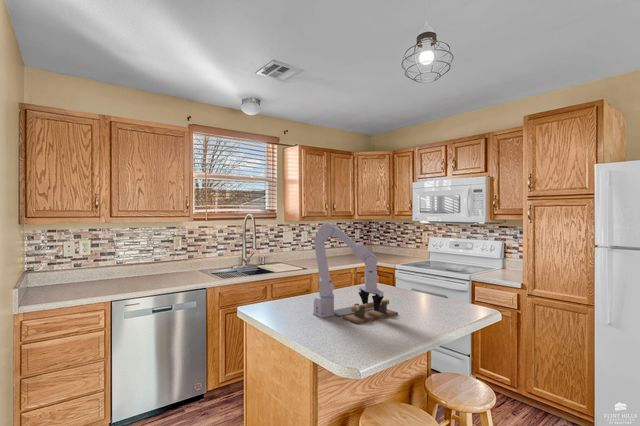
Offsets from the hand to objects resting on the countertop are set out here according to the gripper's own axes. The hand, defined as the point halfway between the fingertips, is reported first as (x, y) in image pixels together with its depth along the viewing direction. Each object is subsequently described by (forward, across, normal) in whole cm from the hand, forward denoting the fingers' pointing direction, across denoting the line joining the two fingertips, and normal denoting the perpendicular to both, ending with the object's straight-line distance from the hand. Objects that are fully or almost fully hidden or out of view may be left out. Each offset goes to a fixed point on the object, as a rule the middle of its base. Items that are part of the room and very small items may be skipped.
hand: (370, 308), depth 161 cm
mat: (+4, +12, 0) cm, 13 cm away
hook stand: (+4, 0, 0) cm, 4 cm away
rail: (0, 0, 0) cm, 0 cm away
